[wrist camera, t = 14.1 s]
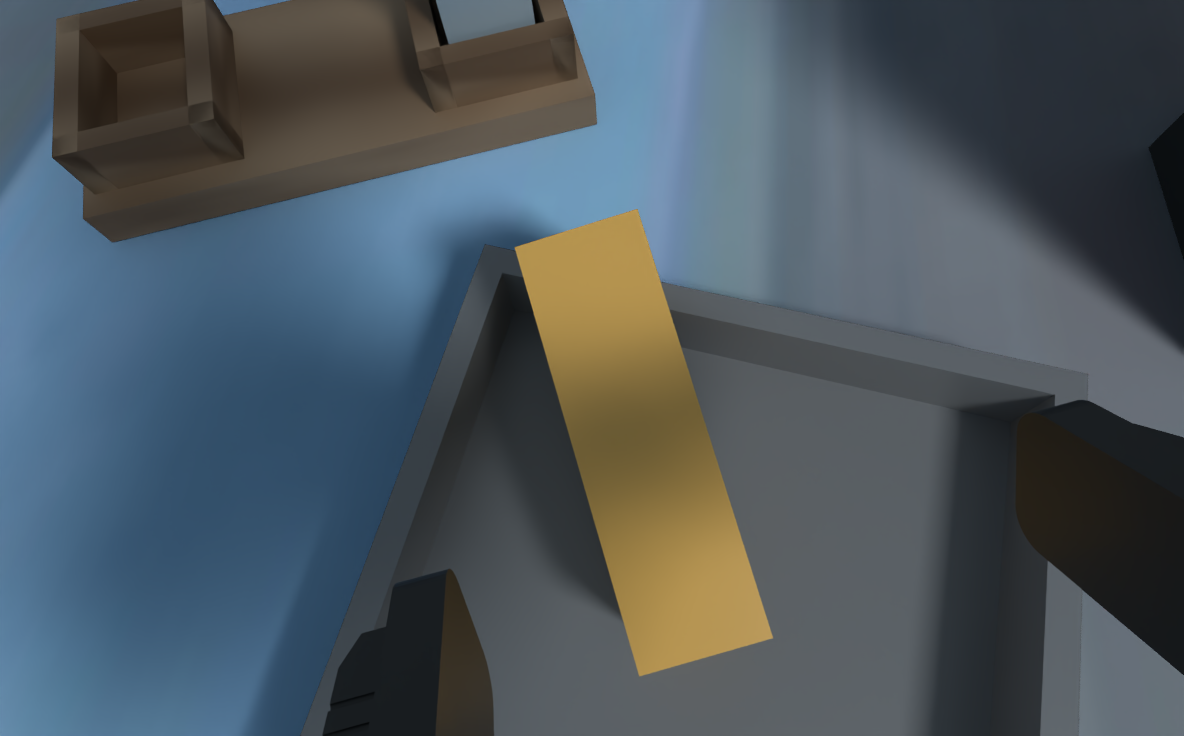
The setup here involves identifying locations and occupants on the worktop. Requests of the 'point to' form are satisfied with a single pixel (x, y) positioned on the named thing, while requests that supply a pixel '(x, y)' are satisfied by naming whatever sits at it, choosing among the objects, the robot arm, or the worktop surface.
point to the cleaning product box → (1172, 173)
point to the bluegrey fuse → (483, 17)
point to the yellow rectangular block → (642, 445)
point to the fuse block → (291, 101)
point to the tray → (746, 533)
